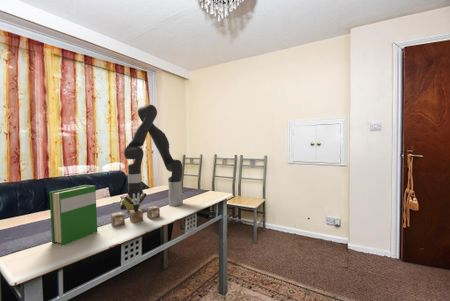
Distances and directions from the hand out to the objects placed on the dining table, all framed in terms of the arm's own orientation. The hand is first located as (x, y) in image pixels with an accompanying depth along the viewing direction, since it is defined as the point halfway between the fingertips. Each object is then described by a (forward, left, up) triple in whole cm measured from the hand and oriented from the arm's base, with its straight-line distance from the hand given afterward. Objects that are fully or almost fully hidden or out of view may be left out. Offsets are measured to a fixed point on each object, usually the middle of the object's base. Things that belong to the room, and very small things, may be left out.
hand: (135, 210), depth 134 cm
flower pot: (-4, -24, -6) cm, 25 cm away
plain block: (0, 0, -6) cm, 6 cm away
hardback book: (+30, +6, -6) cm, 31 cm away
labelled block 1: (+10, 0, -6) cm, 12 cm away
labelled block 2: (-10, 0, -6) cm, 12 cm away
